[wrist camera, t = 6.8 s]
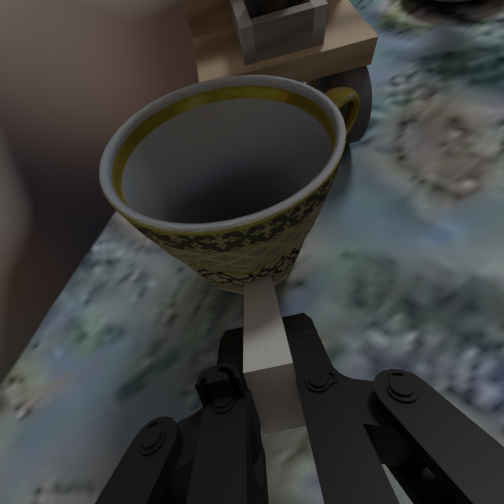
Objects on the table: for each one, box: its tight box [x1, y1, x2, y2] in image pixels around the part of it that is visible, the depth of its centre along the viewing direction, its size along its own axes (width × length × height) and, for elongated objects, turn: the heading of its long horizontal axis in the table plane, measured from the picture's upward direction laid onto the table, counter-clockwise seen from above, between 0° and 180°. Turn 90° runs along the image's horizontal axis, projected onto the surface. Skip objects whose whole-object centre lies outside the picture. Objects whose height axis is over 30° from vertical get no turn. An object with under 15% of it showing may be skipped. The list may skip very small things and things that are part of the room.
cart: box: [182, 0, 378, 144], centre depth 18 cm, size 10×12×12 cm
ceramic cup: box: [99, 75, 360, 294], centre depth 14 cm, size 13×10×10 cm
